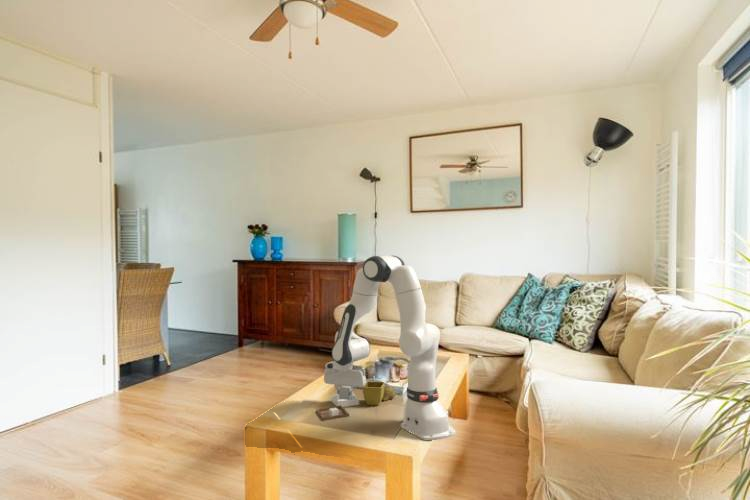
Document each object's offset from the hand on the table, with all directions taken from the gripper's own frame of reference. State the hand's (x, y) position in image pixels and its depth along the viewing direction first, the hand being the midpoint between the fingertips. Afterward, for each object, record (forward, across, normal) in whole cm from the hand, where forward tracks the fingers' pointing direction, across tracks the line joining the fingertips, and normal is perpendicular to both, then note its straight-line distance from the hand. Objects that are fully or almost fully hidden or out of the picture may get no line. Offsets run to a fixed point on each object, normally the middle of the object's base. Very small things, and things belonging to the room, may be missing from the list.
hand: (345, 394), depth 184 cm
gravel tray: (+4, -1, +14) cm, 15 cm away
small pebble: (+4, -3, +17) cm, 17 cm away
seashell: (+4, -15, -12) cm, 20 cm away
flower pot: (+4, -13, -4) cm, 14 cm away
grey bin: (+4, 0, 0) cm, 4 cm away
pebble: (+1, 0, 0) cm, 1 cm away
